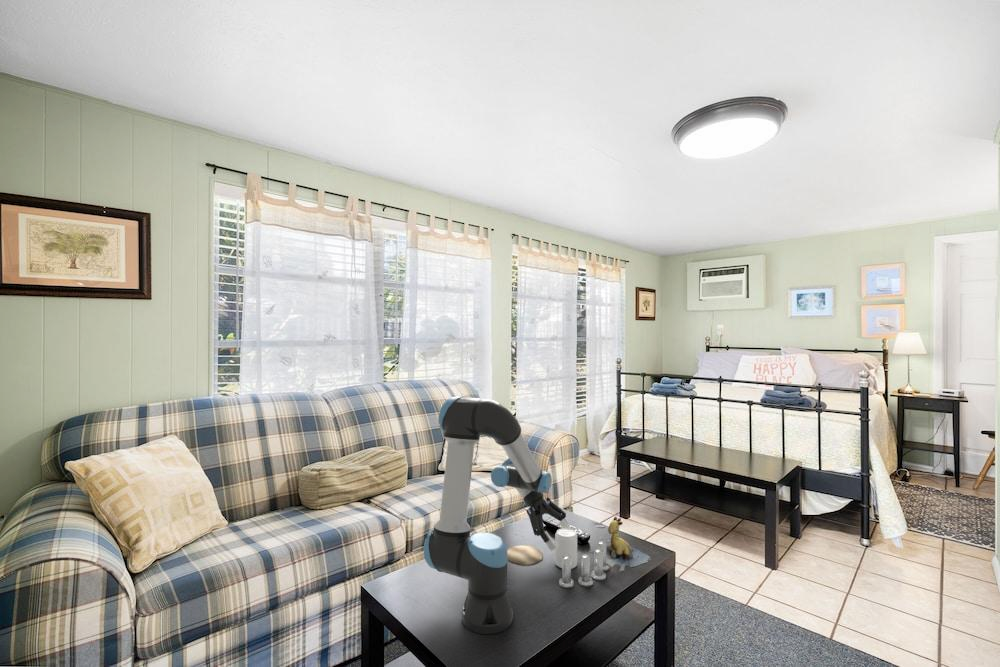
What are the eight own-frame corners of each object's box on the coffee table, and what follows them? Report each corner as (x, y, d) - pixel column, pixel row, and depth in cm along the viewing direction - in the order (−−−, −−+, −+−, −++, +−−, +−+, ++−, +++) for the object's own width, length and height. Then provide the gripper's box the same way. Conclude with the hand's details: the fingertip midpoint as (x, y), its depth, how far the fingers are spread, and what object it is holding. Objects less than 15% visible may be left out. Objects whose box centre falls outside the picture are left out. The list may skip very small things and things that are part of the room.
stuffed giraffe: (589, 553, 174) (592, 512, 174) (623, 544, 183) (625, 505, 183) (620, 573, 160) (622, 529, 160) (654, 563, 169) (657, 521, 169)
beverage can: (578, 570, 161) (578, 537, 161) (556, 570, 161) (556, 537, 161) (575, 559, 169) (575, 527, 169) (553, 559, 169) (554, 527, 169)
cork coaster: (529, 568, 162) (529, 567, 162) (498, 557, 170) (498, 555, 170) (549, 554, 173) (549, 552, 173) (519, 543, 181) (519, 542, 181)
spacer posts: (587, 597, 144) (587, 569, 144) (556, 584, 151) (556, 558, 151) (615, 568, 162) (615, 543, 162) (587, 558, 169) (587, 534, 169)
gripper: (541, 489, 187) (572, 535, 178) (505, 507, 168) (539, 560, 159) (552, 479, 184) (585, 525, 175) (517, 496, 164) (552, 549, 155)
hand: (563, 542), depth 167 cm, fingers open, 13 cm apart
